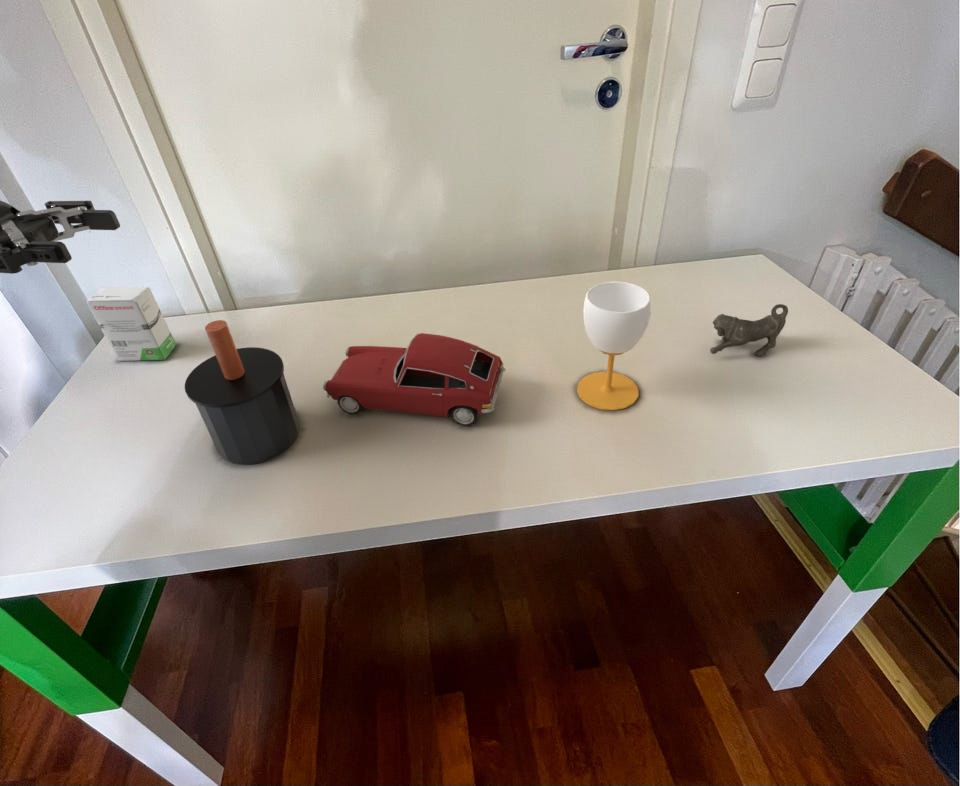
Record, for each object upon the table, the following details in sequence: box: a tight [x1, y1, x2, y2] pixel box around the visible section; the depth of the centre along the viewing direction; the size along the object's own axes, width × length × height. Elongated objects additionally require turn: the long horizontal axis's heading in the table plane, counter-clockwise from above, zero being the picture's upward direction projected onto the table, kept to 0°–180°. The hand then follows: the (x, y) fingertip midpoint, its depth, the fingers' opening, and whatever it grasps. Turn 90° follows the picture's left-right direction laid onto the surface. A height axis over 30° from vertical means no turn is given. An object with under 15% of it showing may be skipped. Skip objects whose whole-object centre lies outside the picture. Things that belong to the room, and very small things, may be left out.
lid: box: [184, 319, 285, 408], centre depth 76 cm, size 12×12×9 cm
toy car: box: [322, 332, 506, 427], centre depth 86 cm, size 11×25×10 cm, turn 78°
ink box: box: [86, 286, 177, 362], centre depth 99 cm, size 9×5×12 cm, turn 86°
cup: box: [576, 280, 652, 412], centre depth 83 cm, size 9×9×16 cm
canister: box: [195, 372, 300, 466], centre depth 81 cm, size 11×11×10 cm
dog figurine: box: [709, 303, 789, 357], centre depth 93 cm, size 12×6×7 cm, turn 95°
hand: (92, 235), depth 67 cm, fingers open, 8 cm apart
